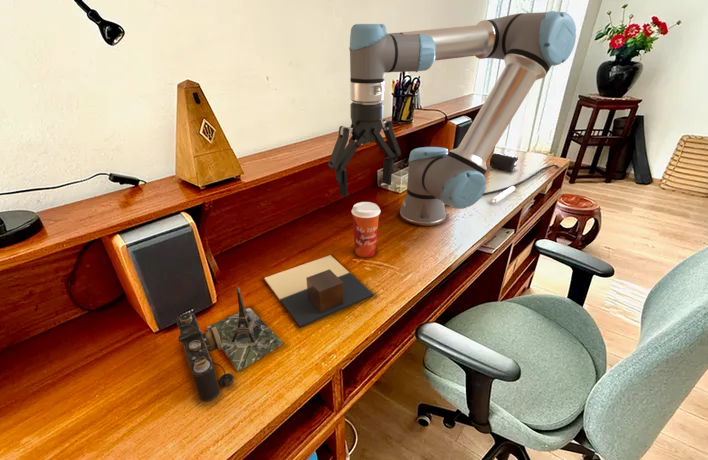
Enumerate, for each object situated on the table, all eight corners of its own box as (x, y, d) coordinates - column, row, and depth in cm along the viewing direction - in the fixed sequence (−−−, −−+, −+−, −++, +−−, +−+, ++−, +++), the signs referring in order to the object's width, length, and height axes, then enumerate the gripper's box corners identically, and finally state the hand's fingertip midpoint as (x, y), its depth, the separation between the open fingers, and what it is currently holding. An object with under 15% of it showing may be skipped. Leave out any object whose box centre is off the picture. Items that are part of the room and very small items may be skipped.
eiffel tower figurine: (205, 329, 76) (191, 277, 69) (249, 307, 82) (240, 257, 75) (238, 373, 66) (225, 317, 59) (286, 344, 72) (279, 291, 65)
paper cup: (355, 261, 98) (355, 214, 91) (348, 247, 104) (348, 202, 98) (383, 257, 100) (385, 211, 93) (374, 243, 106) (375, 199, 100)
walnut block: (330, 289, 86) (329, 269, 83) (343, 303, 82) (343, 282, 79) (307, 298, 83) (306, 277, 80) (320, 313, 79) (319, 291, 76)
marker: (494, 205, 129) (495, 199, 128) (488, 204, 131) (489, 198, 129) (515, 191, 141) (516, 185, 140) (509, 190, 142) (511, 184, 141)
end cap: (488, 169, 164) (490, 154, 160) (494, 165, 168) (497, 151, 165) (509, 174, 158) (513, 159, 155) (516, 170, 162) (519, 155, 159)
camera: (238, 388, 63) (231, 355, 59) (198, 406, 60) (188, 373, 56) (214, 330, 75) (207, 300, 71) (180, 343, 72) (170, 312, 68)
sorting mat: (330, 256, 100) (330, 254, 100) (373, 295, 85) (373, 293, 85) (264, 279, 91) (264, 277, 90) (299, 327, 76) (299, 325, 76)
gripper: (327, 110, 73) (330, 205, 84) (419, 99, 86) (412, 183, 96) (310, 104, 79) (315, 194, 89) (398, 95, 91) (394, 175, 101)
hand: (365, 189), depth 92 cm, fingers open, 13 cm apart
